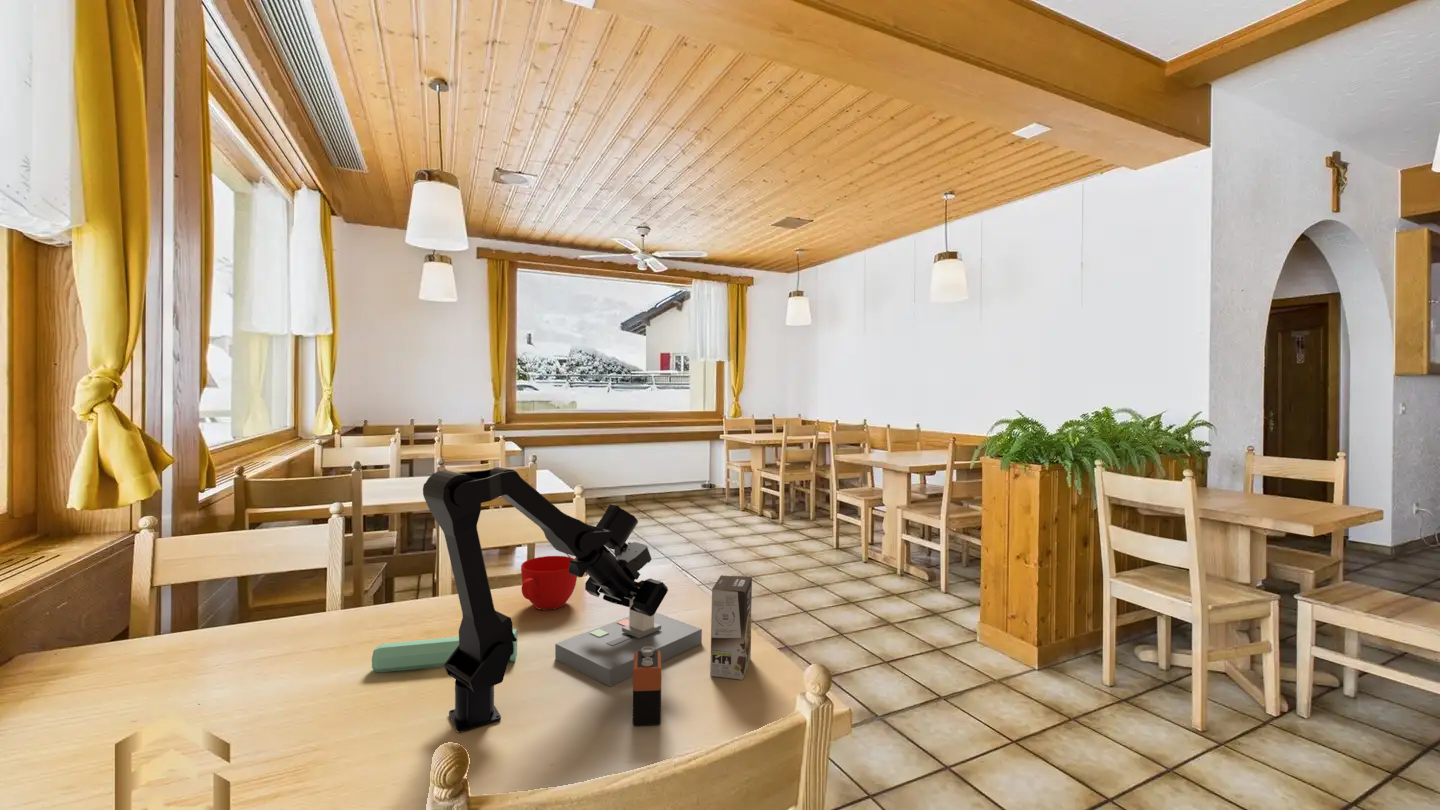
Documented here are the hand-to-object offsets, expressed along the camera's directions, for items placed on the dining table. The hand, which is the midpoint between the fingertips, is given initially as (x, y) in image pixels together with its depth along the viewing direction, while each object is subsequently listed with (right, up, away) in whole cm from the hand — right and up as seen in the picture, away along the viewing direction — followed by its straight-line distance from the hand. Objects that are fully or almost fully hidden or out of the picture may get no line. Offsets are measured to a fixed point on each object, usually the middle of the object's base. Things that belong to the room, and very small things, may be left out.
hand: (646, 609), depth 125 cm
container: (-36, -7, -9) cm, 38 cm away
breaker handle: (-1, -4, -1) cm, 4 cm away
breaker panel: (-3, -7, -3) cm, 8 cm away
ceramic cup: (-26, -6, +19) cm, 33 cm away
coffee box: (+17, -8, -9) cm, 21 cm away
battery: (+3, -8, -26) cm, 28 cm away
